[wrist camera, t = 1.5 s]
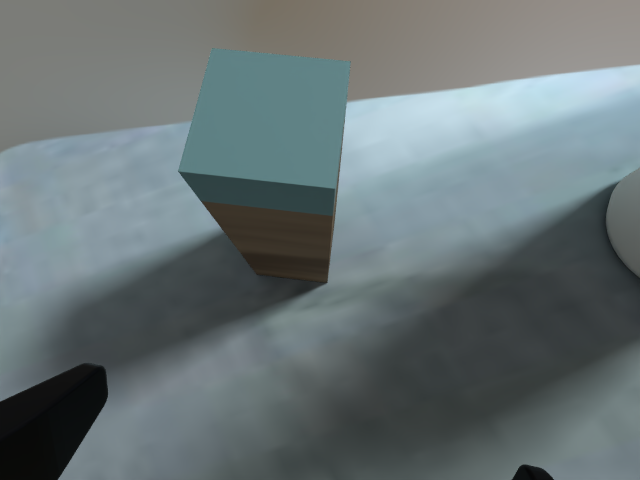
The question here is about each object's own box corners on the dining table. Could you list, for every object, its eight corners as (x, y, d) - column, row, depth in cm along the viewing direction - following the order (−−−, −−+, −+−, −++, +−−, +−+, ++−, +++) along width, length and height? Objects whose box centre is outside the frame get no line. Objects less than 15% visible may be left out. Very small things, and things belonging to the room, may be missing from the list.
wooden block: (327, 282, 22) (335, 188, 10) (256, 274, 22) (178, 171, 10) (335, 216, 24) (350, 61, 11) (268, 209, 24) (212, 47, 11)
